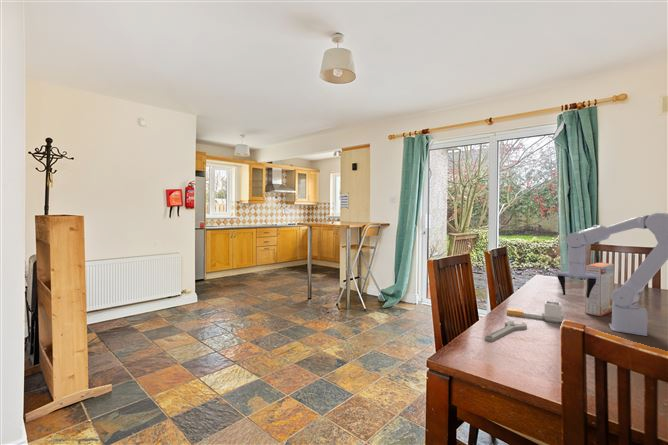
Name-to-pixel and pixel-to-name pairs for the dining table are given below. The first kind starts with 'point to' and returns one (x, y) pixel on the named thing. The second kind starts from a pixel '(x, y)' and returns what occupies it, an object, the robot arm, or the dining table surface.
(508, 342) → the dining table surface
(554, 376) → the dining table surface
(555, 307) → the socket
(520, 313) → the ratchet
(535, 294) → the dining table surface
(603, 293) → the cracker box
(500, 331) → the adjustable wrench
